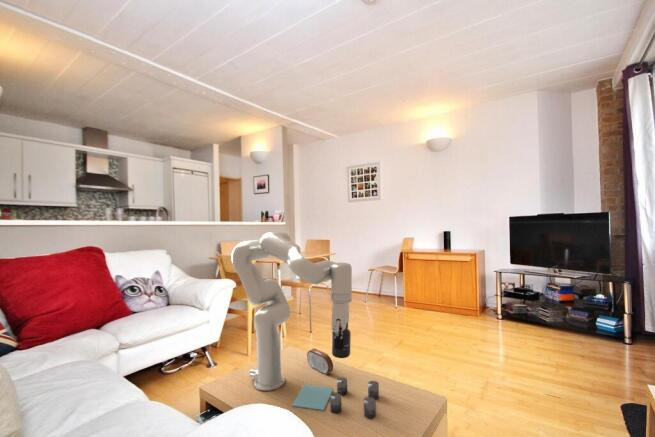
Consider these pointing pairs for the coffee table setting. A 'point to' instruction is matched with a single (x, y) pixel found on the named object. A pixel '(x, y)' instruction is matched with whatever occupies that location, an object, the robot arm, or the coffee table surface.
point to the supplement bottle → (346, 344)
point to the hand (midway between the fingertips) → (341, 344)
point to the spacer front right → (370, 408)
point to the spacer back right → (373, 389)
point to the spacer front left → (335, 403)
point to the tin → (320, 361)
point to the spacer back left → (342, 386)
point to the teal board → (313, 397)
